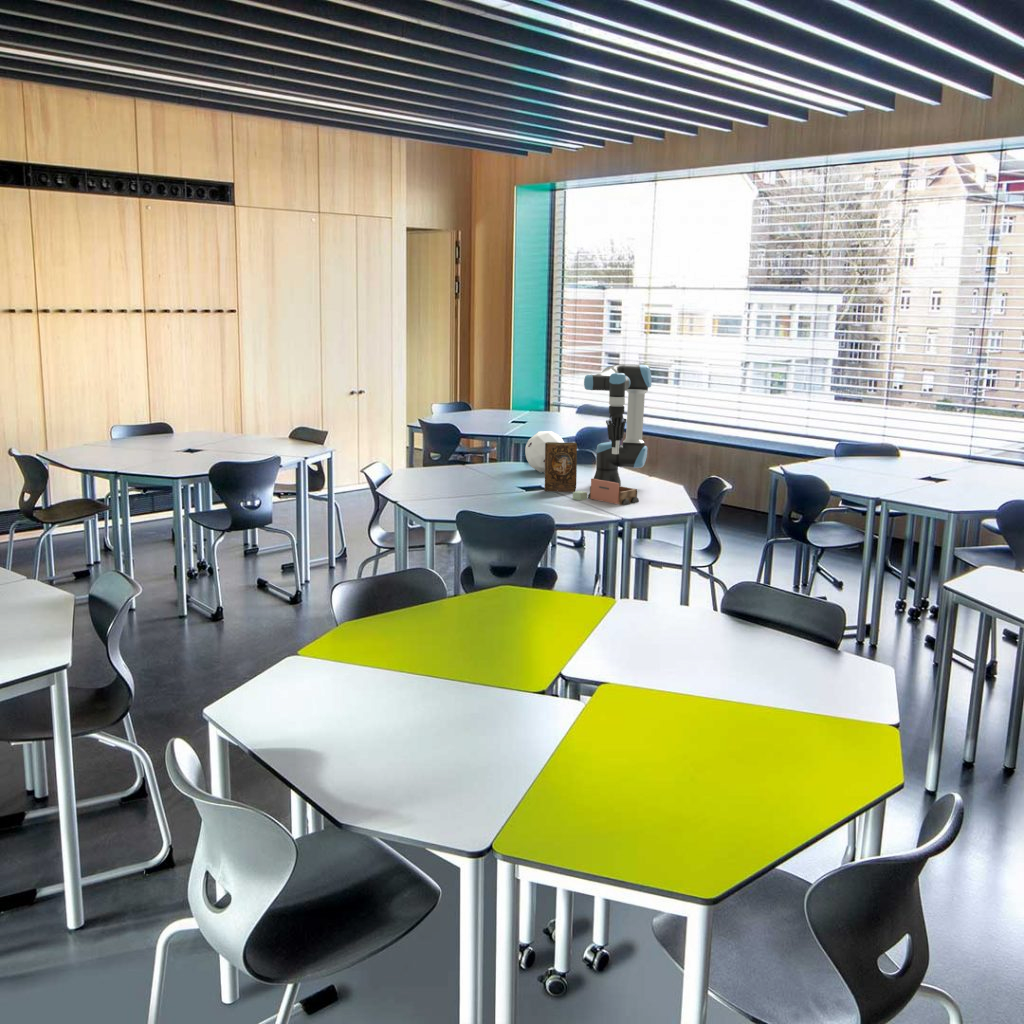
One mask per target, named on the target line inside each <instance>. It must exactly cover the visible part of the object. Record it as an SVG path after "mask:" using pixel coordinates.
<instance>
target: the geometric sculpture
mask: <svg viewBox="0 0 1024 1024" xmlns="http://www.w3.org/2000/svg"><path fill="white" fill-rule="evenodd" d="M547 442H555V443H565V441H564V440H563V438H562V437H561V435H559V434H558V433H556V432H554V431H553V430H546V431H544V430H542V431H540V430H539V431H537V433H535V434H533V436H532V437H530V438H529V439H528V440H527V442H526V445H525V446H524V447H525V449H524V454H525V459H526V460H527V462H528V464H529V466H530V467H531V468H532V469H534V470H536V471H537V472H539V473H540V472H543V473H545V443H547Z"/></svg>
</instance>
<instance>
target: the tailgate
mask: <svg viewBox="0 0 1024 1024" xmlns="http://www.w3.org/2000/svg"><path fill="white" fill-rule="evenodd" d="M590 487H591V499H590V500H594V499H595V501H599V500H600V502H604V501H605V502H606V503H609V502H610V504H614V503H615V505H619V483H615V482H609V481H604V480H598V479H593V478H591V479H590Z"/></svg>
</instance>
